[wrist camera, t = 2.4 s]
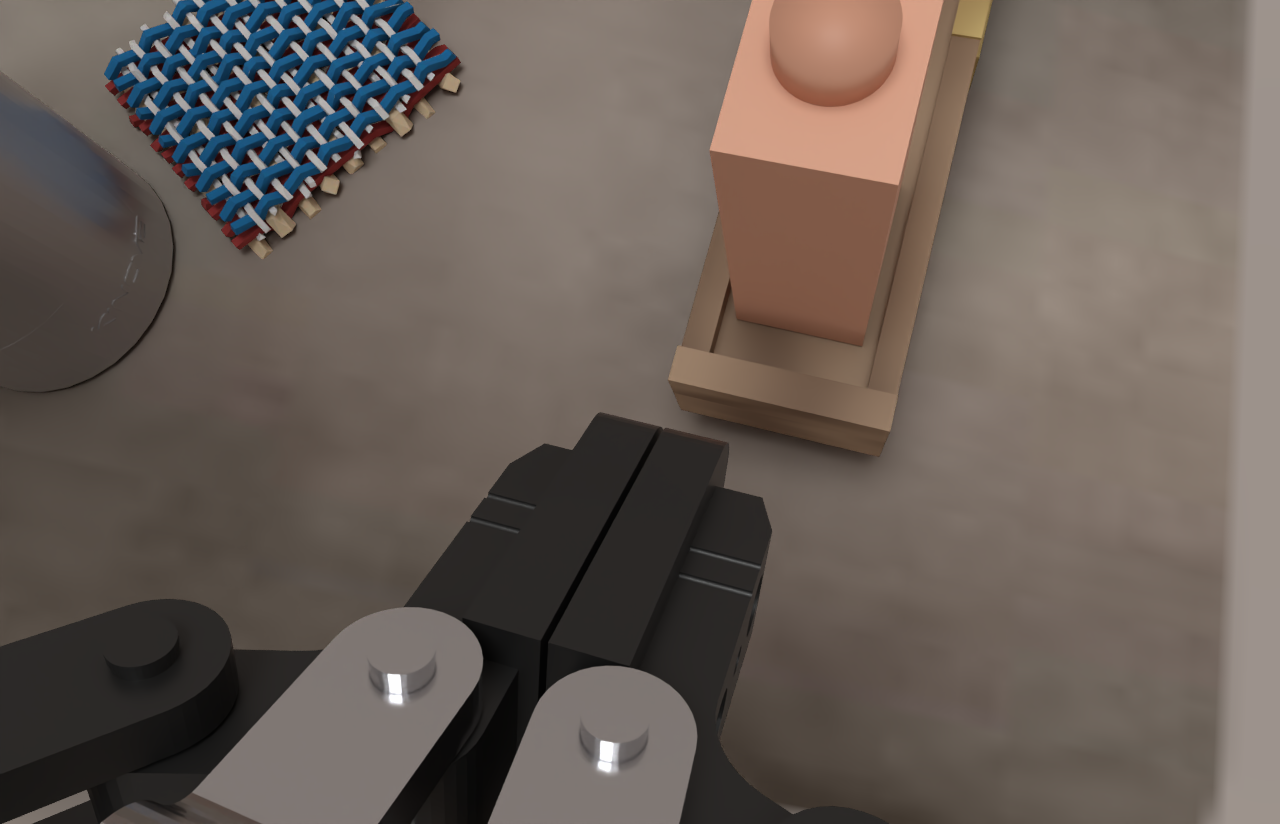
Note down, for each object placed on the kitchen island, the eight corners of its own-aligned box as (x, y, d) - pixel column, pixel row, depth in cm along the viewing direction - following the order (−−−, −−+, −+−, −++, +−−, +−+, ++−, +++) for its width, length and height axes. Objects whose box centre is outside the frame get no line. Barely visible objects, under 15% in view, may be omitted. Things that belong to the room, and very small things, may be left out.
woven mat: (112, 95, 40) (77, 65, 38) (321, -78, 40) (297, -116, 38) (259, 276, 37) (230, 254, 35) (481, 87, 38) (464, 55, 36)
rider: (736, 319, 29) (705, 123, 19) (778, 161, 30) (772, -110, 20) (862, 346, 28) (904, 159, 18) (901, 184, 29) (963, -85, 19)
